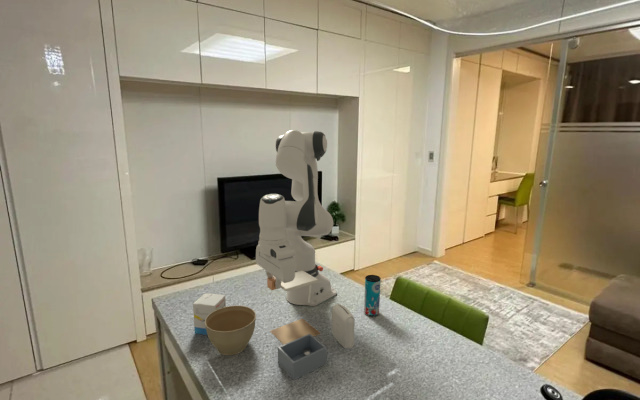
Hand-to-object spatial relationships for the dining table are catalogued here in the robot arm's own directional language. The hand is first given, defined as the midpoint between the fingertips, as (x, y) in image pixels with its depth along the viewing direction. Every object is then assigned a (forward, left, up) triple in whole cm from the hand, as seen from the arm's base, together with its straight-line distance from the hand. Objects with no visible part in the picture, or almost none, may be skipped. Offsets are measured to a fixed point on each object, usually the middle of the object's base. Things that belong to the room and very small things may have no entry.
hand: (274, 285), depth 110 cm
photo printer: (-19, +13, -21) cm, 31 cm away
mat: (-8, 0, -21) cm, 22 cm away
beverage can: (-40, +6, -21) cm, 46 cm away
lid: (-6, 0, -2) cm, 6 cm away
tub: (-1, +15, -21) cm, 26 cm away
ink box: (+15, -21, -21) cm, 33 cm away
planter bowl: (+13, -6, -21) cm, 25 cm away
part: (-4, +13, -20) cm, 25 cm away
